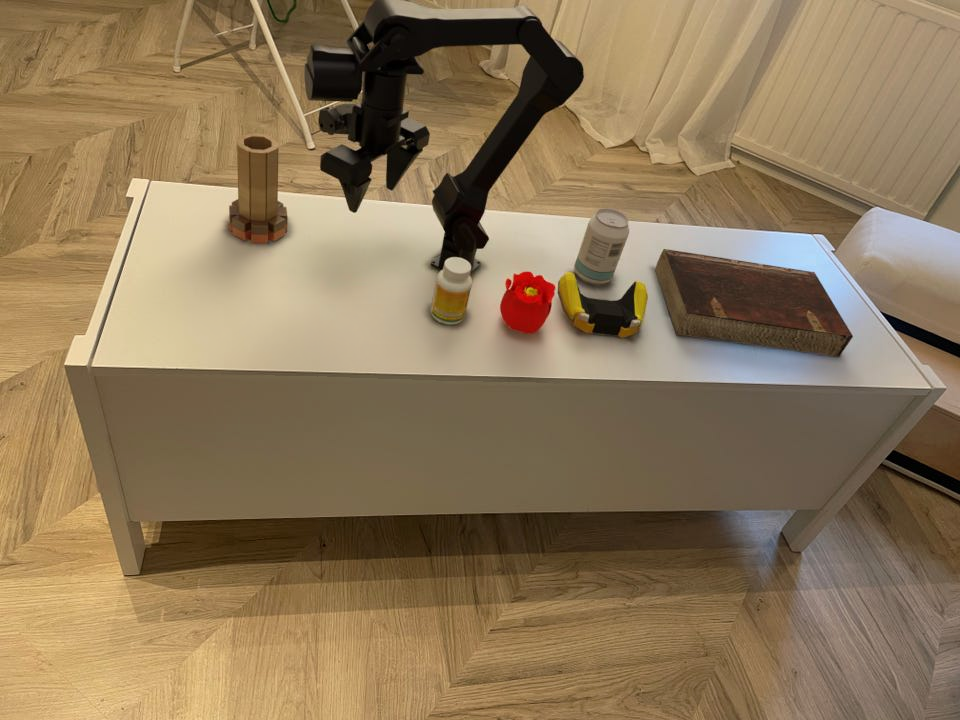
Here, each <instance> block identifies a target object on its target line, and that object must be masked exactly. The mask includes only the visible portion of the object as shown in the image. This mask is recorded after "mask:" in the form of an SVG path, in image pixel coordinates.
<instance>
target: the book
mask: <svg viewBox="0 0 960 720" xmlns="http://www.w3.org/2000/svg"><path fill="white" fill-rule="evenodd" d="M654 271H655V274H656V277H657V280H658V282H659V286H660V289H661V293H662V295H663V298H664V301H665V304H666V307H667V309H668V313H669V316H670V318H671V319H670V320H671V322H672V325H673V328H674V331H675V334H676V335H680V336H687V337H695V338H702V339H709V340H716V341H717V340H718V341H723V342H730V343H737V344H745V345H751V346H757V347H758V346H760V347H766V348H774V349H780V350H781V349H782V350H786V351H787V350H788V351H794V352H802V353H808V354H809V353H810V354H816V355H823V356H830V357H836V358H837V357H838V358H840V357H841V356H842V354H843V352H844V351H845V349H846V348H847V347H848V345H849V343H850V342H851V340H852V339H853V338H854V335H853V334H852V332H851V330H850V328H849V326H848V325H847V324H846V322H845V320H844V319H843V317H842V315H841V314H840V312H839V310H838V309H837V307H836V305H835V304H834V302H833V300H832V299H831V297H830V296H829V294H828V292H827V291H826V289H825V287H824V285H823V284H822V282H821V280H820V278H819V277H818V275H817V273H816V272H815V271H809V270H803V269H797V268H789V267H784V266H778V265H770V264H765V263H758V262H752V261H746V260H745V261H744V260H738V259H732V258H727V257H726V258H725V257H720V256H712V255H706V254H699V253H693V252H687V251H679V250H672V249H668V248H667V249H666V248H663V249H662V251H661V254H660V255H659V258H658V259H657V262H656V265H655V269H654Z"/></svg>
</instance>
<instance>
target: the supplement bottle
mask: <svg viewBox="0 0 960 720" xmlns="http://www.w3.org/2000/svg"><path fill="white" fill-rule="evenodd" d="M470 272H471V265H470V263H469V262H468V261H467V260H465V259H463V258H459V257H451V258H448V259H447V260H446V261H445V263H444V267H443V270H439V271H438V274H437V275H436V279H435V284H434V290H433V296H432V300H431V305H430V314H431V316H432V318H433V319H434V320H436V321H437V322H439V323H440V324H444V325H450V326H451V325H457V324H459V323H461V322H462V321H463V320H464V319H465V317H466V312H467V308H468V303H469V299H470V295H471V291H472V287H473V279H472V277H471V274H470Z"/></svg>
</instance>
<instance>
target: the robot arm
mask: <svg viewBox="0 0 960 720" xmlns="http://www.w3.org/2000/svg"><path fill="white" fill-rule="evenodd" d="M371 43H372V44H373V46H372V48H371V49H370V47H369V44H371ZM346 44H347V47H337V46H336V47H335V46H325V45H323V44H322V45H321V44H311V45H309V53H308V54H307V57H306V62H305V63H304V87H305V94H306V98H307V100H308V101H311V102H313V101H314V102H318V101H319V102H344V103H341V104H337V105H335V106H333V107H331V108H330V107H329V106H326V107H324V108H321V109H319V112H318V120H317V123H318V127H319V131H321V132H322V133H324V134H325V133H327V135H328V136H334V135H347V140H348V141H350V142H352V143H353V144H354V143H358V146H359V147H360V148H358V149H356V150H355V149H353V148H351V147H349V146H347V145H345V144H339V145H337V146H336V147H333V148H332V149H329V150H327V151H326V152H324V153H322V154H321V155H320V159H319V160H320V161H319V163H320V164H319V169H320V171H321V172H322V173H325V174H327V175H329V176H331V177H333V178H334V179H337V180H338V181H339V185H340V186H341V189H342V191H343V195H344V198H345V201H346V204H347V208H348V211H350V212H352V213H354V214H356V213H357V212H358V210H359V208H360V207H361V204H362V202H363V200H364V199H365V198H364V197H365V196H366V193H367V191H368V189H369V186H370V184H371V182H372V178H371V177H370V176H371V175H372V173H373V164H372V162H374V161H376V160H378V159H379V158H382V157H383V156H386V169H385V187H386V189H387V190H389V191H394V190H395V189H396V187H397V186H398V184H399V183H400V182H401V180H402V178H403V177H404V176H405V174H406V173H407V171H408V170H409V169H410V167H411V166H412V165H413V163H414V162H415V161H416V159H417V158H418V157H419V155H421V154H422V153H423V150H424V148H425V147H427V146H429V142H430V138H431V137H430V136H431V133H430V131H429V129H428V127H427V126H426V125H425V124H423V123H421V122H419V121H418V120H417V121H416V120H415V119H412V118H410V117H409V114H410V110H408V109H406V108H404V105H405V96H406V90H407V89H406V88H407V80H408V75H417V76H418V75H420V76H422V75H424V73H425V70H424V69H423V67H422V65H421V64H420V62H419V60H418V59H417V57H422V56H423V55H425V54H426V53H428V52H430V51H432V50H434V49H439V48H449V47H478V46H479V47H481V46H482V47H483V46H510V45H512V46H513V45H514V46H515V45H520V46H521V47H522V48H523V49H524V50H525V52H526V53H527V54H528V55H529V57H528V60H527V62H526V64H525V66H524V68H523V70H522V73H521V74H522V75H521V79H520V84H519V88H518V92H517V94H516V96H515V97H514V99H513V100H512V102H511V103H510V104H509V106H508V107H507V108H506V110H505V112H504V113H503V115H502V116H501V117H500V119H499V120H498V122H497V123H496V124H495V126H494V128H493V129H492V130H491V132H490V134H489V135H488V136H487V138H486V139H485V141H484V142H483V144H481V147H480V148H479V149H478V151H477V152H476V154H475V155H474V157H473V158H472V160H471V161H470V162H469V163H468V165H467V167H466V168H465V169H464V170H463V171H462V172H460V173H458V174H456V175H454V176H453V175H452V174H450V173H449V172H446V173H445V174H444V175H443V177H442V179H441V182H440V183H439V185H437V187H436V188H434V189H433V190H432V194H433V197H432V199H431V206H432V210H433V212H434V214H435V216H436V218H437V220H438V222H439V224H440V226H441V227H442V230H443V231H444V233H443V237H442V238H443V239H442V244H441V248H440V254H438V255H437V256H436V257H434V258H433V259H432V260H431V261H430V264H429V265H430V266H431V267H433V268H435V269H437V270H439V271H441V270H443V267H444V263H445V261H446V260H447V259H448V258H451V257H459V258H463V259H465V260H467V261H468V262H469V263H470V265H471V272H470V275H472V274H473V273H474V272H475V271H477V270H478V269H479V268H480V267H481V266H482V261H480V260H478V259H476V254H477V250H483V249H485V248H486V246H487V244H488V242H489V241H490V237H489V235H488V234H487V232H486V230H485V228H484V227H483V225H482V223H481V220H482V218H483V216H484V215H485V212H486V208H487V202H488V198H489V193H490V191H491V190H492V188H493V187H494V185H495V184H496V182H497V181H498V179H499V178H500V177H501V175H502V174H503V172H504V171H505V170H506V169H507V167H508V166H509V165H510V163H511V162H512V160H513V159H514V158H515V156H516V154H518V152H519V150H520V149H521V148H522V146H523V145H524V143H525V142H526V140H527V139H528V138H529V137H530V135H531V134H532V132H533V131H534V129H535V128H536V127H537V125H538V124H539V123H540V121H541V120H542V118H543V117H544V116H545V115H546V114H547V113H549V112H551V111H553V110H555V109H557V108H559V107H561V106H563V105H564V104H565V103H566V102H567V101H568V100H569V99H570V98H571V97H572V96H573V95H574V94H575V93H576V92H577V91H578V90H579V88H580V87H581V85H582V84H583V81H584V80H585V79H584V78H585V75H584V73H585V72H584V65H583V63H582V62H581V61H580V60H579V59H578V58H577V56H576V55H575V54H573V52H572V51H570V49H569V48H568V47H567V45H565V44H564V43H563V42H562V41H561V40H558V39H553V37H552V36H551V35H550V33H549V32H548V31H547V29H546V28H545V27H544V26H543V22H542V20H541V19H540V18H539V17H538V15H536V14H535V13H534V12H533V10H531V9H530V8H529V7H528V6H524V5H516V6H514V7H489V8H488V7H485V8H484V7H483V8H481V7H479V8H431V7H428V6H427V7H426V6H424V5H421V4H419V3H416V2H412V1H410V0H409V1H408V0H374V1H373V2H372V4H371V5H370V6H369V7H368V8H367V10H366V12H365V14H364V20H363V21H362V22H361V23H360V24H359V25H358V27H357V28H356V29H355V30H354V31H353V32H352V34H351V35H350V36H349V37H348V38H347V40H346ZM360 94H361V99H360V100H361V101H359V102H358V103H352V102H353V101H357V100H358V98H359V95H360ZM346 102H347V103H346Z"/></svg>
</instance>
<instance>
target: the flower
mask: <svg viewBox="0 0 960 720" xmlns="http://www.w3.org/2000/svg"><path fill="white" fill-rule="evenodd" d="M512 275H513V276H512V279H510V278H509V277H508V278H506V280H505V283H504V285H505V289H506V290H505V291H504V293H503V296H502V299H501V301H500V305H499V310H500V311H499V312H500V315H501V318H502V320H503V322H504V323H505V325H506V326H507V327H508V328H509V329H510V330H512V331H516V332H519V333H522V334H527V335H528V334H529V335H531V334H536V333H537V332H538V331H539V330H540V329H541V328H542V327H543V326H544V324H545V322H546V321H547V319H548V317H549V316H550V314H551V310H552V304H553V298H554V297H555V295H556V293H555V291H556V285H555V284H554V283H552V282H549V281H547V280H546V279H545V278H544V276H543V275H541V274H538V275H534V274H533V273H532V272H531V271H528V270H527V271H526V270H525V271H522V272H520V273H518V274H517V273H513V274H512Z"/></svg>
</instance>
